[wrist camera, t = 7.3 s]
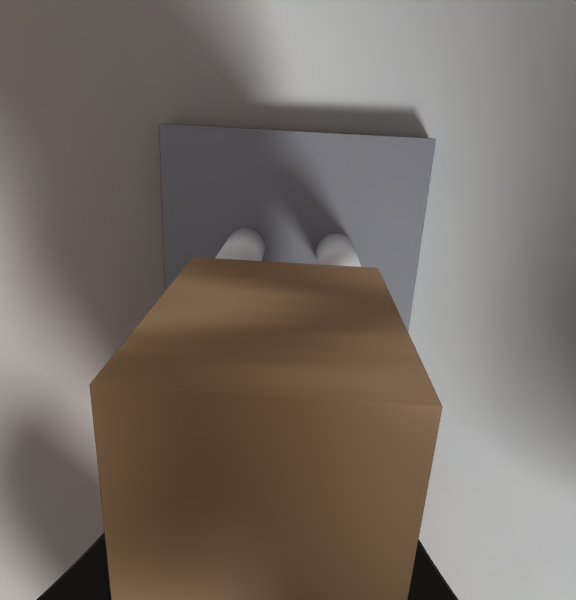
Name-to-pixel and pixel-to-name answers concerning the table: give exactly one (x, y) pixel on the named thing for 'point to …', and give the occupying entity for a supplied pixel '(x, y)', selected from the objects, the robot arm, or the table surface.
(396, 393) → the shelf block
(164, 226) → the peg plate
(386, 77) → the table surface
